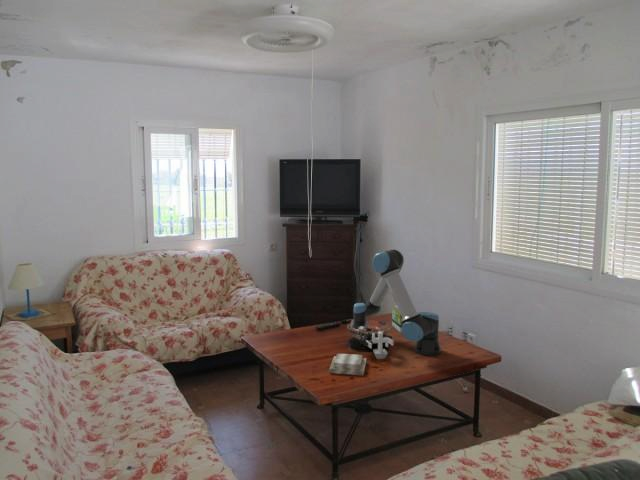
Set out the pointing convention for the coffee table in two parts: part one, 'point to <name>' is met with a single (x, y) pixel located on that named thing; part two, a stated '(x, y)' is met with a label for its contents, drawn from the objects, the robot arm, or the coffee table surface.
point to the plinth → (346, 370)
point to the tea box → (396, 318)
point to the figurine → (380, 345)
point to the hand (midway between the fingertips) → (382, 344)
